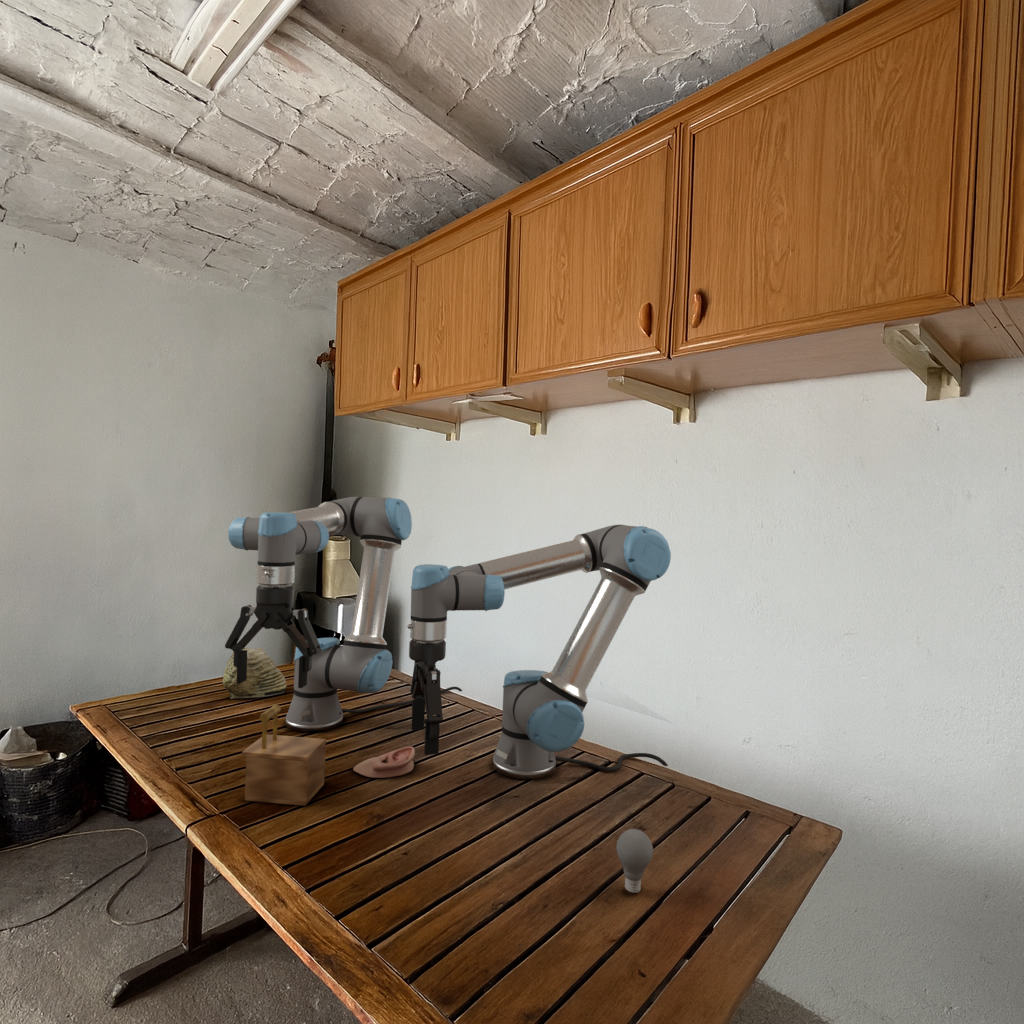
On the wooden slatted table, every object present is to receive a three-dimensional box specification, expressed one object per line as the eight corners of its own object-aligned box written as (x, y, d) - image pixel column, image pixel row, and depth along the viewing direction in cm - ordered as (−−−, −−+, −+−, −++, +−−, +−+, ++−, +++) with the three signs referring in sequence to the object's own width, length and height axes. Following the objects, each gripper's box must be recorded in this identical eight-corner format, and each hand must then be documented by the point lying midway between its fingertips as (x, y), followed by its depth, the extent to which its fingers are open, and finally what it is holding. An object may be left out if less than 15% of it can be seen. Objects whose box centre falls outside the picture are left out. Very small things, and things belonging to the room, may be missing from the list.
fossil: (218, 695, 195) (220, 647, 195) (278, 685, 208) (279, 640, 207) (228, 703, 189) (230, 653, 188) (289, 692, 201) (290, 645, 201)
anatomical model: (347, 757, 144) (369, 739, 156) (347, 774, 144) (368, 755, 156) (402, 764, 142) (420, 745, 153) (402, 782, 142) (419, 762, 153)
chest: (244, 800, 131) (246, 756, 131) (267, 779, 141) (269, 738, 141) (305, 805, 130) (306, 761, 129) (324, 784, 140) (325, 742, 139)
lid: (241, 755, 131) (243, 715, 131) (265, 737, 141) (266, 700, 141) (306, 761, 129) (308, 720, 129) (325, 742, 139) (327, 704, 139)
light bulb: (610, 879, 108) (613, 822, 108) (644, 879, 109) (647, 822, 109) (619, 902, 102) (622, 840, 102) (655, 901, 103) (658, 840, 103)
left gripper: (209, 583, 132) (206, 684, 133) (325, 590, 130) (321, 693, 130) (229, 579, 140) (225, 675, 140) (338, 585, 137) (335, 683, 138)
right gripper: (399, 627, 142) (396, 721, 142) (422, 655, 118) (418, 767, 119) (432, 626, 144) (429, 719, 145) (461, 653, 121) (456, 763, 121)
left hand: (271, 684), depth 135 cm, fingers open, 13 cm apart
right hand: (424, 741), depth 132 cm, fingers open, 13 cm apart
